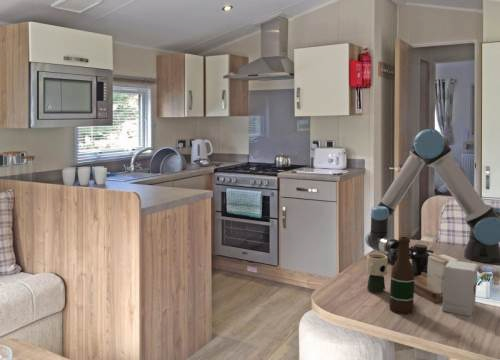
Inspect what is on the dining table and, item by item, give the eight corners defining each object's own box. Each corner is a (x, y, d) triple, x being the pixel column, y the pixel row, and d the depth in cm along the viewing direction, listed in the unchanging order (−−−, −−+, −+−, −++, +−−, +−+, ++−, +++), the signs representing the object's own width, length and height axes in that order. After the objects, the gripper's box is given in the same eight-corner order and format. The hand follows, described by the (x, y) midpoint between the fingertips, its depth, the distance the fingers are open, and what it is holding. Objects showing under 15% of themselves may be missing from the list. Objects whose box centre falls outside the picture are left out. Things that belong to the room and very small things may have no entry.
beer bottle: (385, 305, 163) (388, 235, 160) (407, 304, 164) (411, 234, 161) (393, 314, 155) (397, 241, 152) (417, 314, 156) (421, 240, 153)
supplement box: (471, 317, 154) (474, 271, 152) (441, 311, 159) (444, 266, 157) (475, 307, 162) (478, 263, 160) (446, 302, 166) (449, 259, 164)
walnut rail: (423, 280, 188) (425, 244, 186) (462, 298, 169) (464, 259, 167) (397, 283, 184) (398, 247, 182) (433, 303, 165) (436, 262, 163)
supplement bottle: (429, 278, 189) (431, 248, 188) (411, 277, 191) (412, 247, 189) (426, 273, 196) (428, 244, 194) (409, 272, 197) (410, 243, 196)
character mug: (379, 297, 170) (380, 261, 168) (360, 293, 174) (361, 257, 172) (391, 289, 178) (393, 254, 176) (372, 284, 183) (374, 250, 181)
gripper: (415, 253, 214) (450, 267, 194) (366, 258, 206) (398, 274, 186) (416, 236, 213) (451, 249, 193) (367, 241, 205) (399, 255, 185)
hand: (425, 261), depth 189 cm, fingers open, 13 cm apart
